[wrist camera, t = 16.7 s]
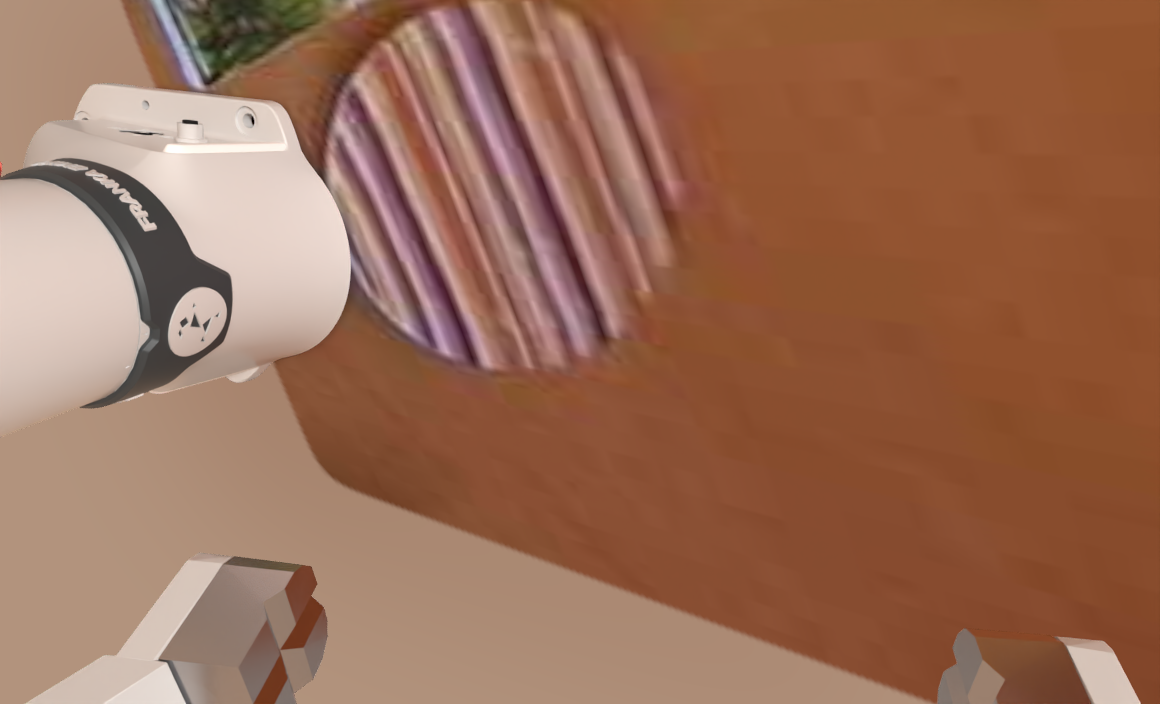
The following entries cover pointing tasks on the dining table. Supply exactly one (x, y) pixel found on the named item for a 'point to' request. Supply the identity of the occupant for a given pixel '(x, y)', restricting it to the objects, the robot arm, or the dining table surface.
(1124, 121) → the dining table surface
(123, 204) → the robot arm
